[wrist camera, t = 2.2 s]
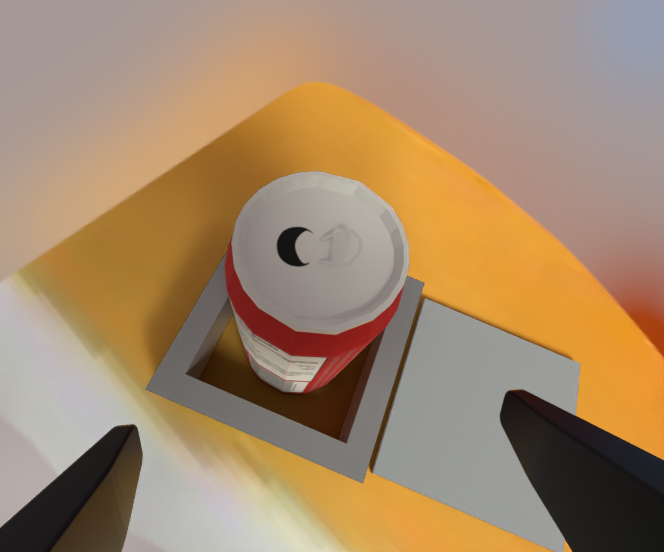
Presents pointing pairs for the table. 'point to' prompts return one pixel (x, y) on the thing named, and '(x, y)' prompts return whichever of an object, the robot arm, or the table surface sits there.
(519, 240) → the table surface
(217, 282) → the collar
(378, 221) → the soda can
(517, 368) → the mat
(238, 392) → the table surface
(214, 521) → the table surface
